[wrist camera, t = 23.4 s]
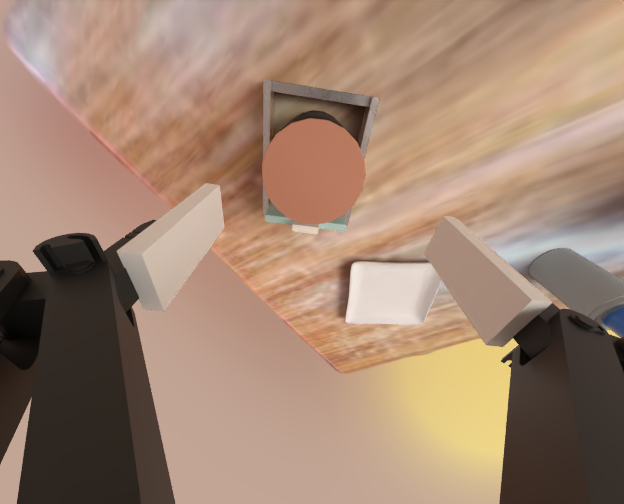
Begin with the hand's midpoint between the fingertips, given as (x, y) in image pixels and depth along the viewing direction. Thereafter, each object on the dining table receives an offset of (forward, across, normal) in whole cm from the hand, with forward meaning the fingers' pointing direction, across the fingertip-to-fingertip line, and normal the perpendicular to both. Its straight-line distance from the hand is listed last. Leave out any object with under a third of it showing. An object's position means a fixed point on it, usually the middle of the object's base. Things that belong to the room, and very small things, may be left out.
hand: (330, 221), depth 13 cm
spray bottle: (+29, +56, -18) cm, 65 cm away
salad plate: (+29, +22, -31) cm, 48 cm away
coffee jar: (+29, -1, -1) cm, 29 cm away
